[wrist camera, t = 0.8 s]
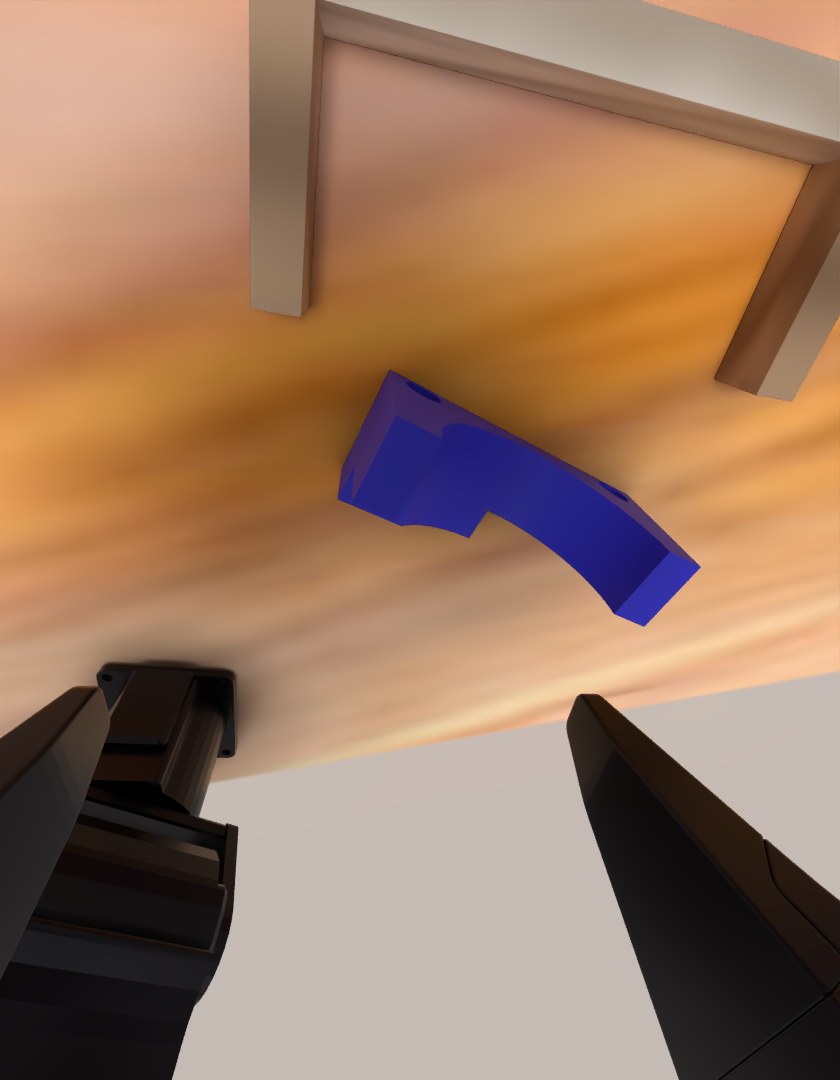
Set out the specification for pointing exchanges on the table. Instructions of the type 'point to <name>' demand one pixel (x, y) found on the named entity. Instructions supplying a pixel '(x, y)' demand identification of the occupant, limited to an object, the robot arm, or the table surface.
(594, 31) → the slot rails
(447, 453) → the cable clip
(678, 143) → the table surface
